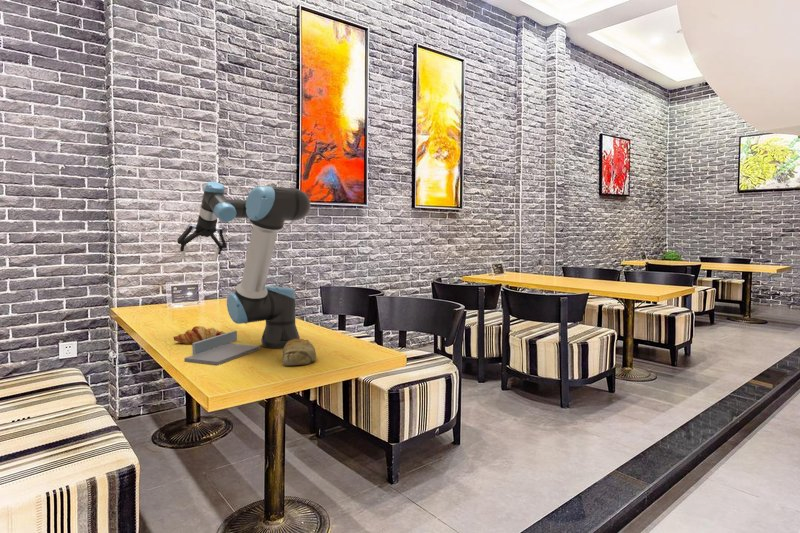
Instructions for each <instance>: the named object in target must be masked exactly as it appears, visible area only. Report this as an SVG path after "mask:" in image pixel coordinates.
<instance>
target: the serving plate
mask: <svg viewBox="0 0 800 533" xmlns="http://www.w3.org/2000/svg"><path fill="white" fill-rule="evenodd" d="M258 349H259V350H260V349H261V347H260V345H254V344H244V343H234V342H231V343H228V344H225V345H222V346H219V347H216V348H213V349H210V350H207V351H204V352H201V353H198V354H192V355H190V356H187V357H183V358H184V362H185V361H187V362H188V363H194V362H195V364H201V365H202V364H205V365H211V366H219V364H220V365H223V364H225V363H228V362H230V361H232V360H235V359H237V358H240V357H243V356H246V355H248V354H250V353H253V352H255V351H258Z"/></svg>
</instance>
